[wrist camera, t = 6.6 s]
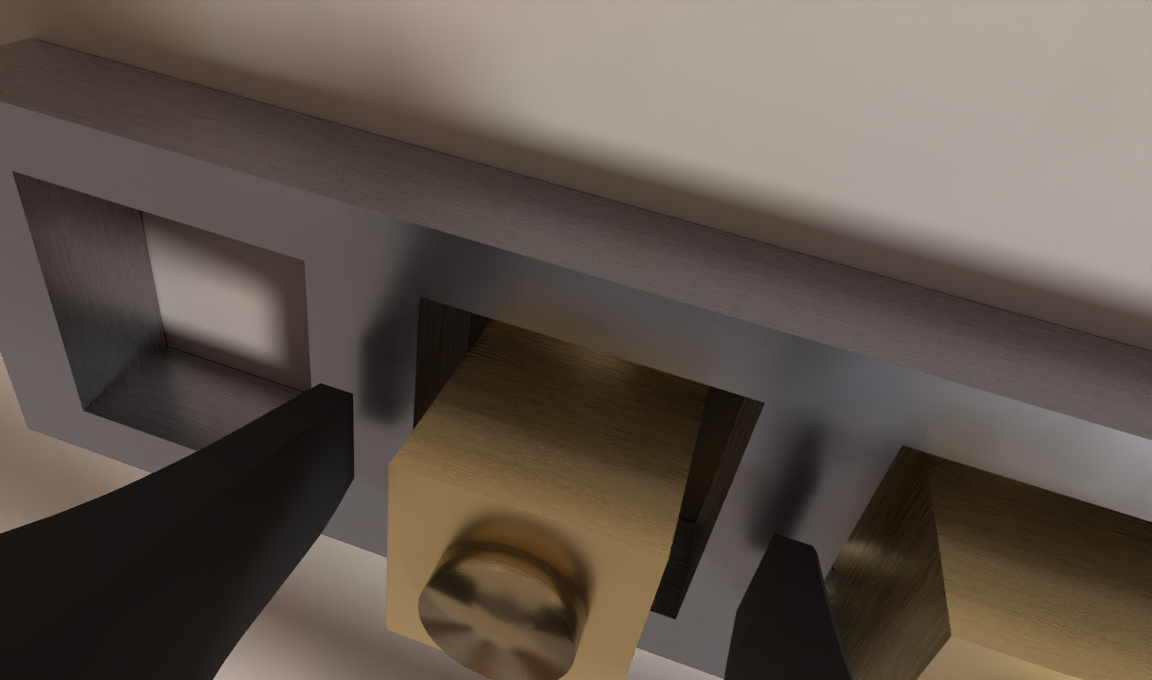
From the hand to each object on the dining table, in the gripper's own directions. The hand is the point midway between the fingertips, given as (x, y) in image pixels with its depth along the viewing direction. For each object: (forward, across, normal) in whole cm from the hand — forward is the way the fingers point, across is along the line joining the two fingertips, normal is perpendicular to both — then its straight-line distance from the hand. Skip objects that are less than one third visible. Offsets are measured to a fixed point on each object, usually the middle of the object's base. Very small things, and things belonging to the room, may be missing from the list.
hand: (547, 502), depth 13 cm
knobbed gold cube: (+3, 0, 0) cm, 3 cm away
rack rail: (+3, 0, 0) cm, 3 cm away
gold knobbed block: (+3, -8, 0) cm, 8 cm away
